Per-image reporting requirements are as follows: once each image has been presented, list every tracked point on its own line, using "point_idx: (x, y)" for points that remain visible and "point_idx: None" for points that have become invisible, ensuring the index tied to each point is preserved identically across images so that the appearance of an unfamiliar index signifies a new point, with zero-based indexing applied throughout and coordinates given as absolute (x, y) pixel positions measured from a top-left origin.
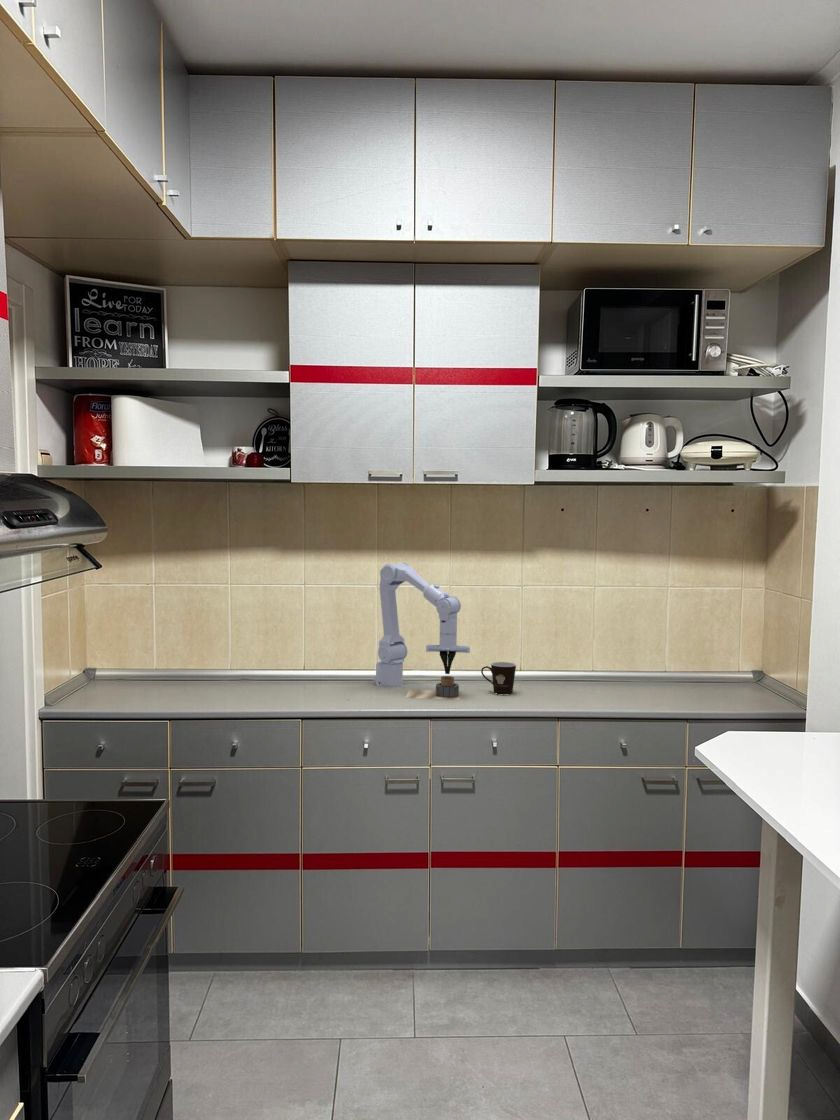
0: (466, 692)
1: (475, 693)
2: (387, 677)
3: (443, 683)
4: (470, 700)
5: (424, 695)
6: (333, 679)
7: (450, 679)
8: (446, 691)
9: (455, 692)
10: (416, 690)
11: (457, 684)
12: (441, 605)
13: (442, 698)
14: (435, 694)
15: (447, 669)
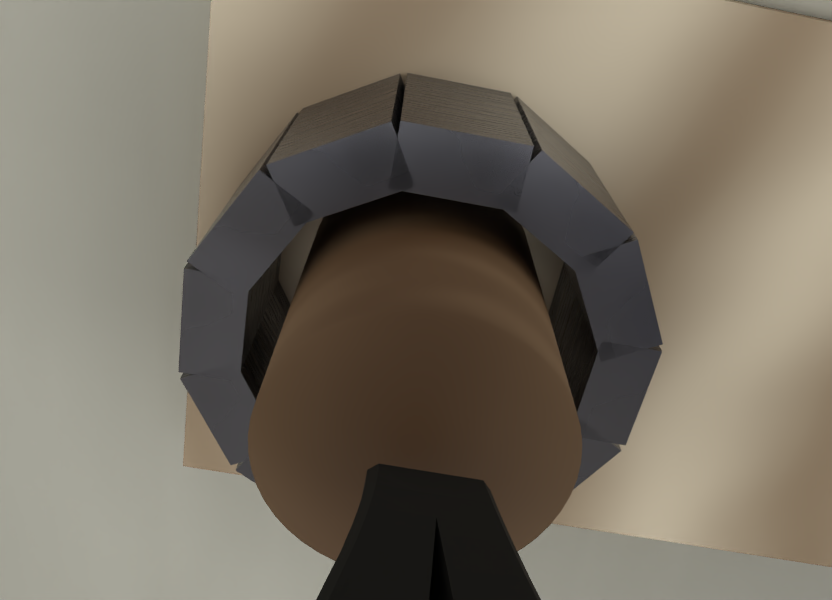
0: (131, 529)
1: (7, 480)
2: None
3: (523, 293)
4: (43, 82)
5: (807, 257)
6: None
7: (353, 309)
8: (465, 107)
9: (276, 143)
10: (825, 537)
11: (208, 376)
12: None
13: (543, 20)
14: None
15: (431, 554)
